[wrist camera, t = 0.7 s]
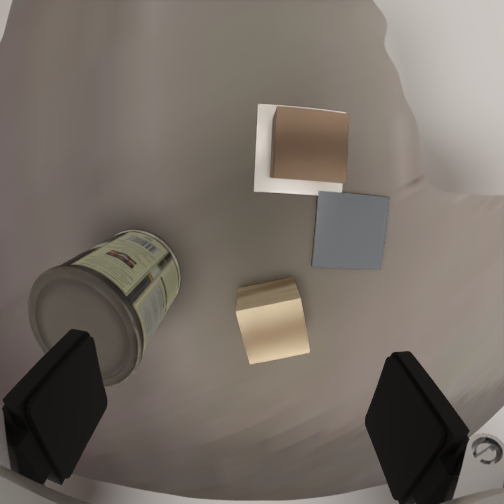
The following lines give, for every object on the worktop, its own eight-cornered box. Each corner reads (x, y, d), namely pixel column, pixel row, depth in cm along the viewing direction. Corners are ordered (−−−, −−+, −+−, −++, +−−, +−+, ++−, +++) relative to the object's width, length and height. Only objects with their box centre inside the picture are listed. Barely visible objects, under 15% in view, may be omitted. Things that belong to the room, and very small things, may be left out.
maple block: (238, 287, 34) (235, 311, 28) (292, 276, 33) (300, 297, 27) (250, 334, 35) (249, 364, 29) (301, 324, 35) (309, 352, 29)
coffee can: (104, 312, 34) (45, 375, 21) (95, 228, 32) (16, 263, 18) (184, 319, 35) (149, 398, 21) (181, 230, 32) (131, 270, 18)
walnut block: (272, 118, 29) (277, 106, 23) (331, 124, 29) (348, 113, 23) (269, 177, 30) (273, 178, 24) (328, 181, 30) (345, 183, 24)
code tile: (257, 104, 29) (257, 103, 28) (344, 113, 29) (345, 112, 28) (253, 191, 31) (253, 191, 31) (340, 197, 31) (341, 197, 31)
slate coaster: (317, 190, 31) (318, 190, 30) (387, 197, 31) (389, 197, 30) (311, 265, 33) (312, 267, 32) (379, 268, 33) (380, 269, 32)
